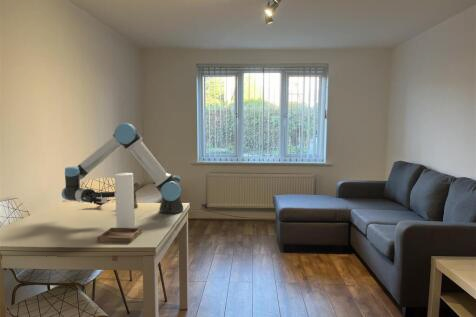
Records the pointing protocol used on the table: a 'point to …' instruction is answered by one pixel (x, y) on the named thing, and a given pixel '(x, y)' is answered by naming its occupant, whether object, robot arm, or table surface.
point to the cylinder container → (124, 200)
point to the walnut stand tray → (120, 235)
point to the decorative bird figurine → (100, 204)
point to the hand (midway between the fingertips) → (115, 198)
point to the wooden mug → (135, 194)
